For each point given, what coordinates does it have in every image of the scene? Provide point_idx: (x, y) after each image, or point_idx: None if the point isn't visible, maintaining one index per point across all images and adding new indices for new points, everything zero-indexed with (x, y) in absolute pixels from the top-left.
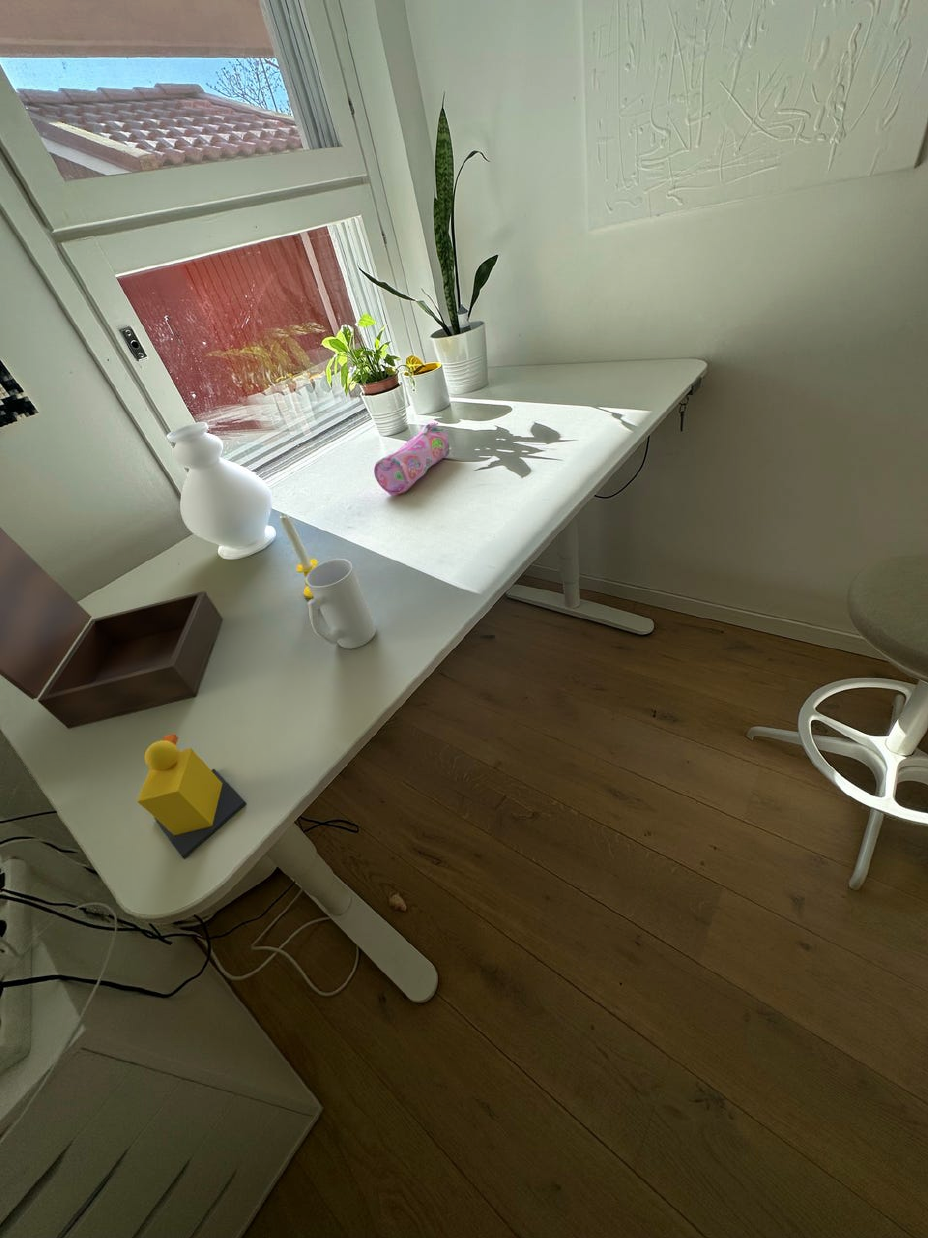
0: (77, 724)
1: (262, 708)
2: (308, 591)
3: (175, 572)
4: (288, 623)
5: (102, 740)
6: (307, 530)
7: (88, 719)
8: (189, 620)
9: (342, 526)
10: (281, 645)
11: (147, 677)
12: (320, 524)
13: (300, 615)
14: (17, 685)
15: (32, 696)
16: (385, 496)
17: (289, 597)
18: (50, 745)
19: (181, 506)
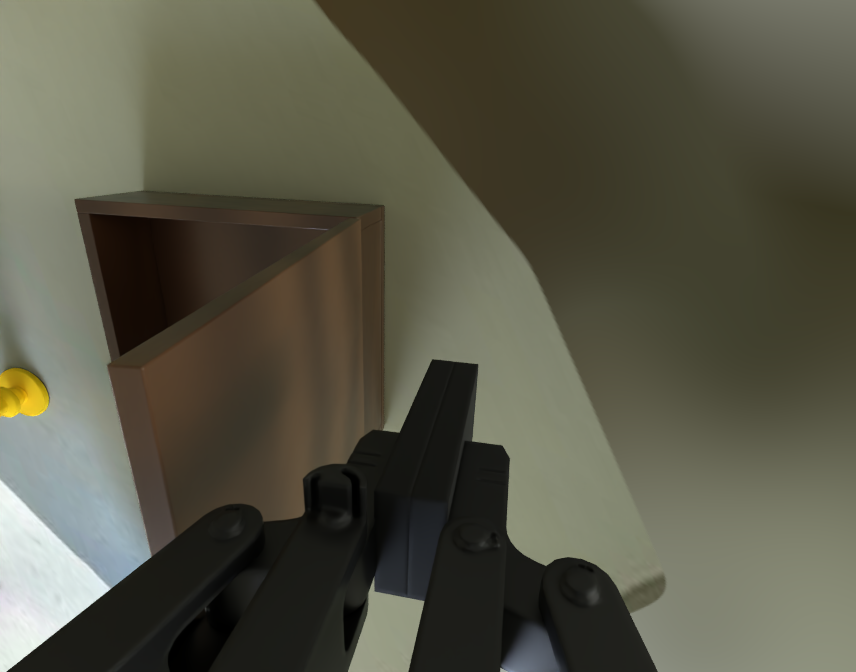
0: (360, 204)
1: (3, 102)
2: (32, 390)
3: None
4: (47, 322)
5: (290, 138)
6: (113, 578)
7: (332, 203)
8: (112, 346)
9: (51, 552)
10: (36, 265)
11: (137, 201)
12: (95, 582)
13: (33, 334)
14: (342, 226)
15: (350, 219)
16: (5, 593)
17: (73, 397)
18: (405, 169)
19: None
